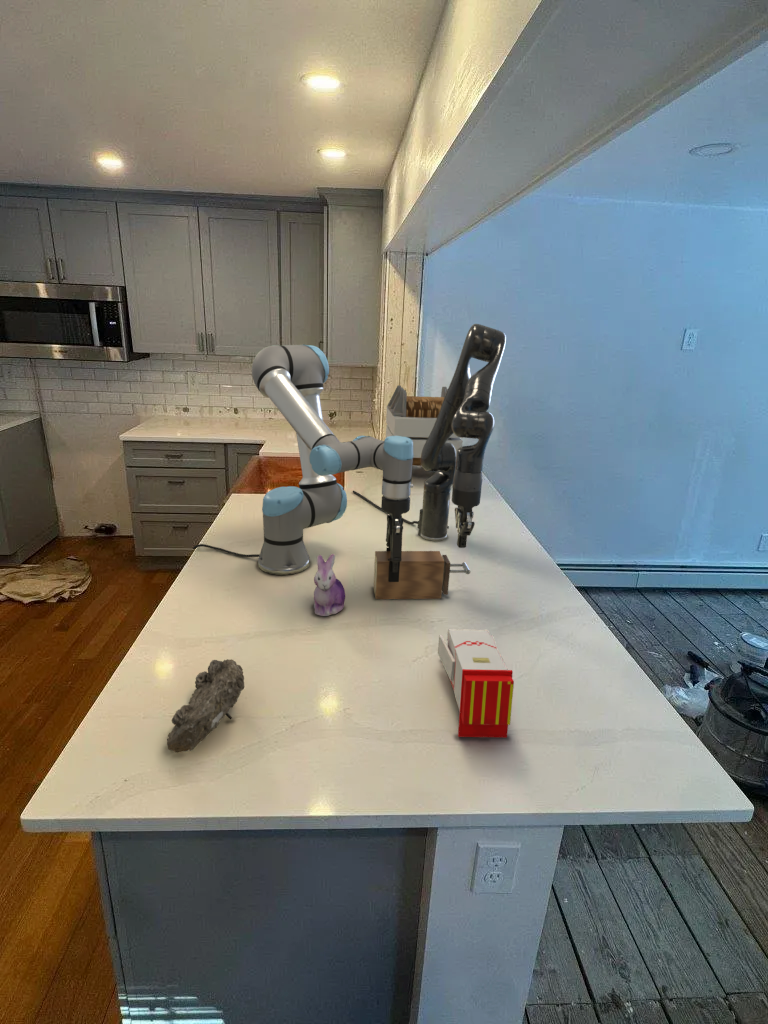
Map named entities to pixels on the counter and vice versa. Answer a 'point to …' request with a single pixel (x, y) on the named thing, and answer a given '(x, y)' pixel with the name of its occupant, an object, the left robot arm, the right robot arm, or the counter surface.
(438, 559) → the cabinet
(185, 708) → the fossil
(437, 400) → the grey crate with legs
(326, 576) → the figurine
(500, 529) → the counter surface
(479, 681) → the toy
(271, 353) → the left robot arm
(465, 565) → the drawer
